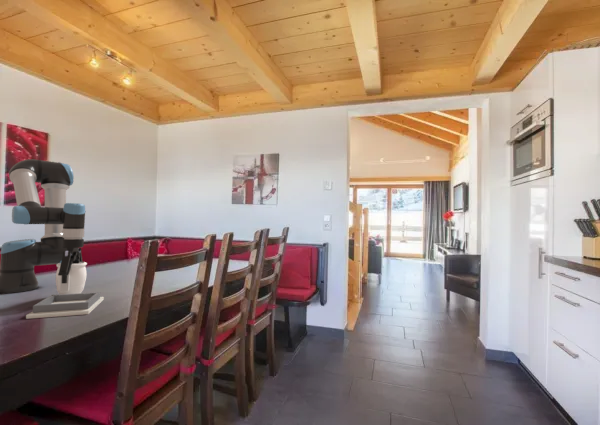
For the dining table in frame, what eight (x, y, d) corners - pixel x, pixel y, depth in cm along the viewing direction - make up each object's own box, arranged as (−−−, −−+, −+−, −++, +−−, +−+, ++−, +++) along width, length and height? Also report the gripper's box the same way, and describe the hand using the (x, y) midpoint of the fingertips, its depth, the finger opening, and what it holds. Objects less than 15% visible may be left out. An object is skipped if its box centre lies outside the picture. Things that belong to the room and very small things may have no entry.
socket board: (51, 302, 118) (52, 293, 118) (103, 299, 125) (104, 290, 125) (26, 318, 100) (26, 307, 100) (88, 314, 106) (88, 303, 106)
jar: (48, 301, 120) (50, 265, 120) (62, 294, 130) (64, 261, 130) (78, 300, 122) (80, 264, 123) (89, 294, 133) (91, 261, 133)
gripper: (73, 236, 137) (71, 281, 137) (49, 240, 114) (47, 294, 113) (92, 236, 140) (90, 280, 139) (72, 240, 117) (70, 293, 116)
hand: (71, 287), depth 126 cm, fingers open, 13 cm apart
